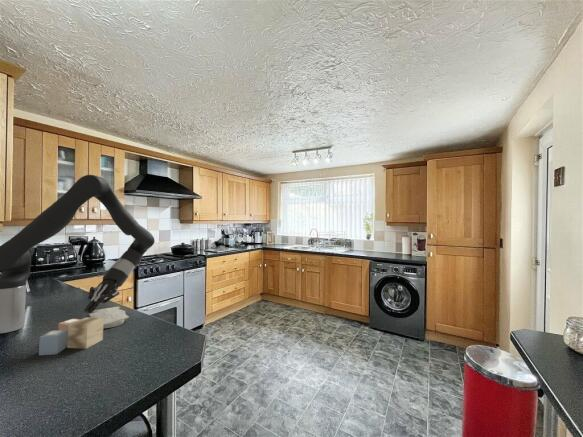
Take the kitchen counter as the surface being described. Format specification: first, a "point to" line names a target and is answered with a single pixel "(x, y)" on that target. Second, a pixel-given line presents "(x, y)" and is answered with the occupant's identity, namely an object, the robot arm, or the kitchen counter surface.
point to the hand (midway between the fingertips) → (87, 312)
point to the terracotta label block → (66, 324)
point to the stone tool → (110, 316)
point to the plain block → (85, 333)
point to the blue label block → (53, 342)
